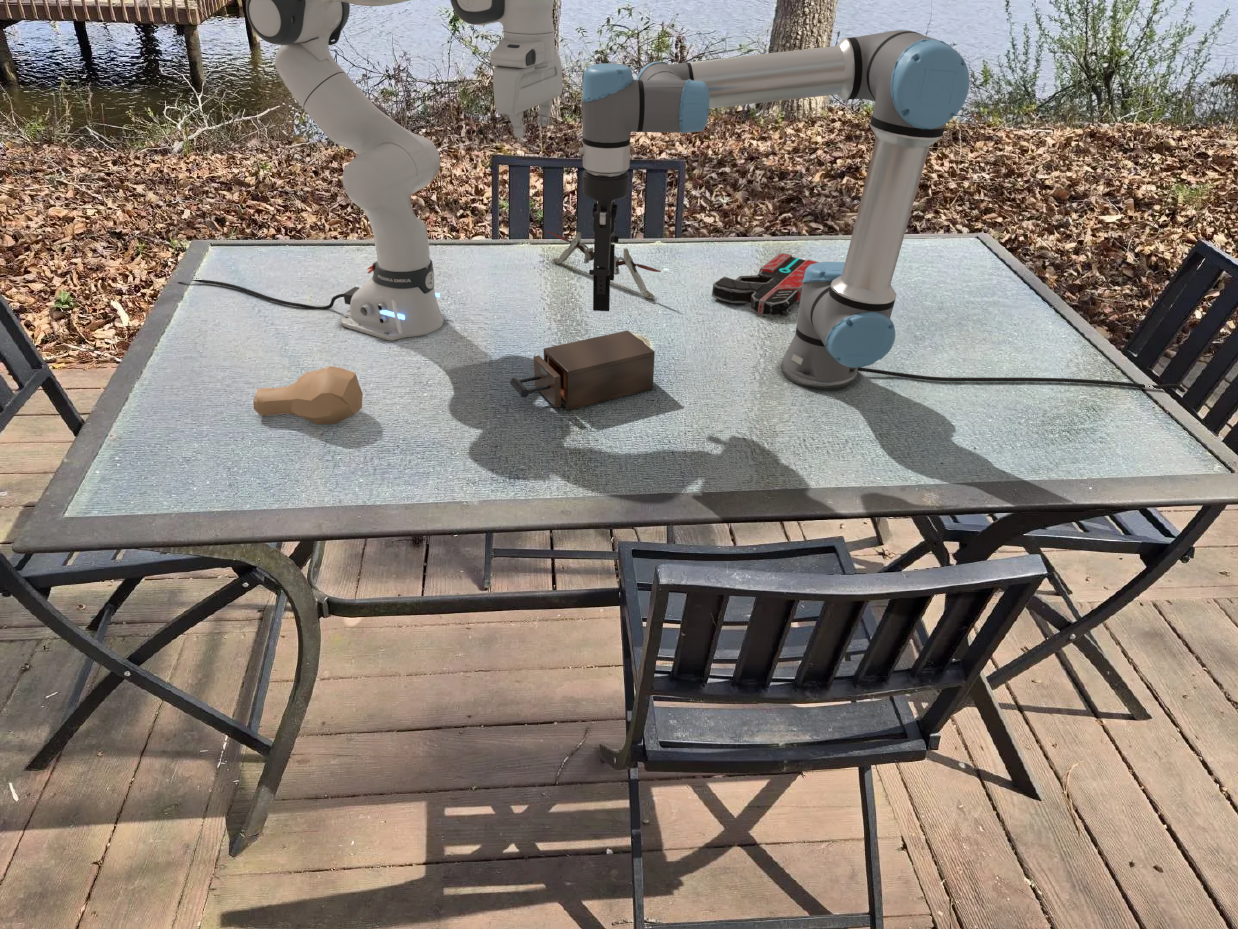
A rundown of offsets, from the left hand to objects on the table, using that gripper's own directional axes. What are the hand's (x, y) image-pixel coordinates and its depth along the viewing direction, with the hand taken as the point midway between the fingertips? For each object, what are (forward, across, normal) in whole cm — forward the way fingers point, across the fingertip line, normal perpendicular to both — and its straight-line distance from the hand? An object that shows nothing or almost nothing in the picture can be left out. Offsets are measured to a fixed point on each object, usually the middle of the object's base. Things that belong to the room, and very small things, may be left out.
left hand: (531, 130), depth 161 cm
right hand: (+21, +18, +22) cm, 36 cm away
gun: (+45, -53, +37) cm, 79 cm away
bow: (+45, -42, -4) cm, 61 cm away
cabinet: (+45, +10, +18) cm, 49 cm away
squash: (+45, +42, -25) cm, 66 cm away
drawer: (+44, +14, +15) cm, 48 cm away
